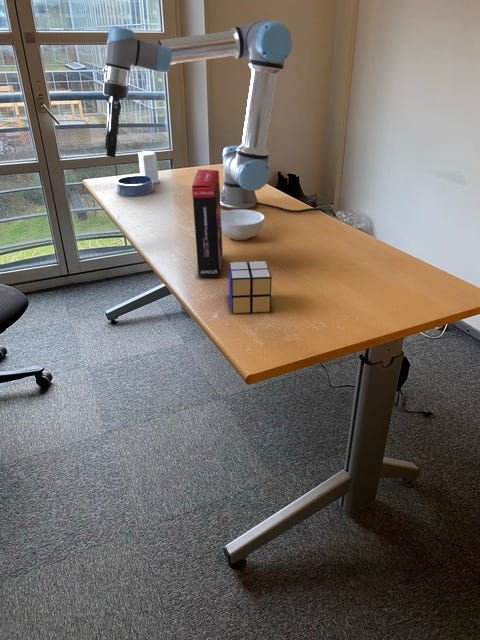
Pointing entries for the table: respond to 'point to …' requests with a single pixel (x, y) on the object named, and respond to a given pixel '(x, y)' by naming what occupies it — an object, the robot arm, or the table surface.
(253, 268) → the puzzle cube
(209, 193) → the graphics card box
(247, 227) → the cereal bowl
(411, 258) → the table surface
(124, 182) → the bowl
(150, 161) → the small box
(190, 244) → the table surface
